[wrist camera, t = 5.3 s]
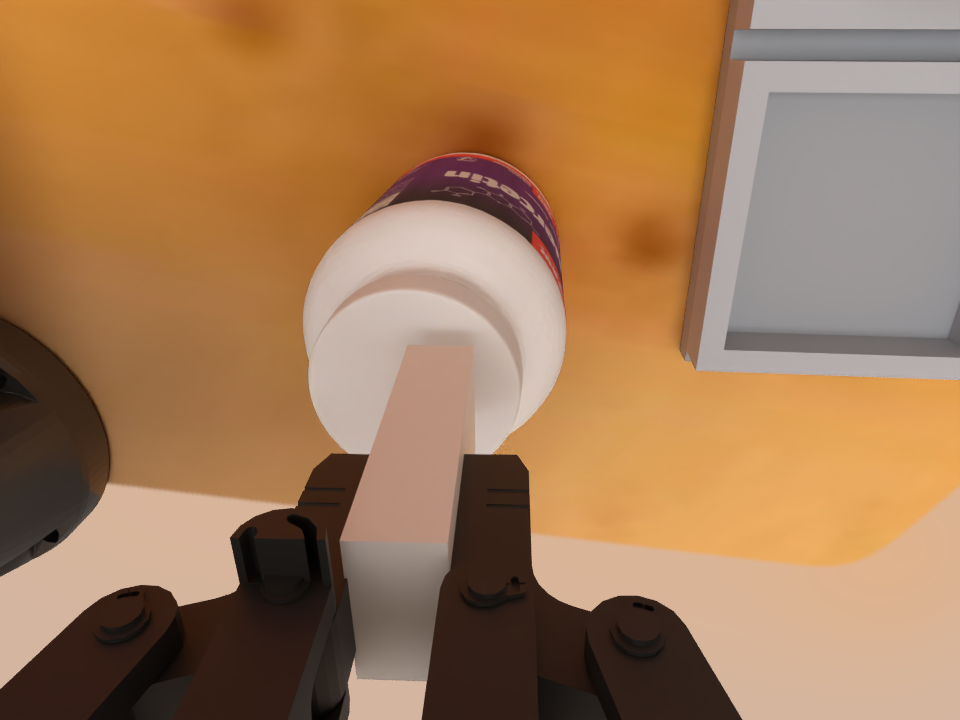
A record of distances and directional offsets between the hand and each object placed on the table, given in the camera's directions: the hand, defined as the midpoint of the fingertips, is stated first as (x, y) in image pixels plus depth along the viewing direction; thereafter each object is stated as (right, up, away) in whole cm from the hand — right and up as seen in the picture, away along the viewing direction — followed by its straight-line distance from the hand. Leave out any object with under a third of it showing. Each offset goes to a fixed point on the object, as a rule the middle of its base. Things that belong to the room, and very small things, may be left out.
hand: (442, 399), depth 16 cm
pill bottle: (0, +6, +15) cm, 16 cm away
